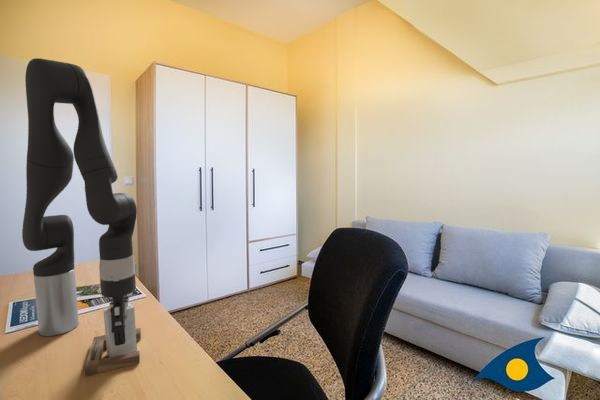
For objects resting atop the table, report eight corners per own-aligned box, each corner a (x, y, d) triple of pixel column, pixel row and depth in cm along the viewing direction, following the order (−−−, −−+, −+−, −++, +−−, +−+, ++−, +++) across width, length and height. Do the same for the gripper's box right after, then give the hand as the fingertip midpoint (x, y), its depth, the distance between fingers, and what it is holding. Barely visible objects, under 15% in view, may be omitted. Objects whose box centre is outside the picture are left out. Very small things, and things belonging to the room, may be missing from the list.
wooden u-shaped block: (94, 344, 82) (93, 334, 82) (140, 334, 87) (140, 325, 87) (84, 376, 70) (84, 364, 69) (139, 362, 74) (138, 352, 74)
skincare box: (131, 344, 82) (129, 301, 81) (137, 351, 79) (135, 306, 78) (105, 354, 78) (102, 309, 76) (110, 361, 75) (107, 315, 74)
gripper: (103, 267, 81) (107, 325, 83) (95, 286, 68) (100, 355, 70) (136, 263, 84) (139, 319, 86) (133, 281, 71) (137, 346, 73)
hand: (121, 335), depth 78 cm, fingers open, 8 cm apart
